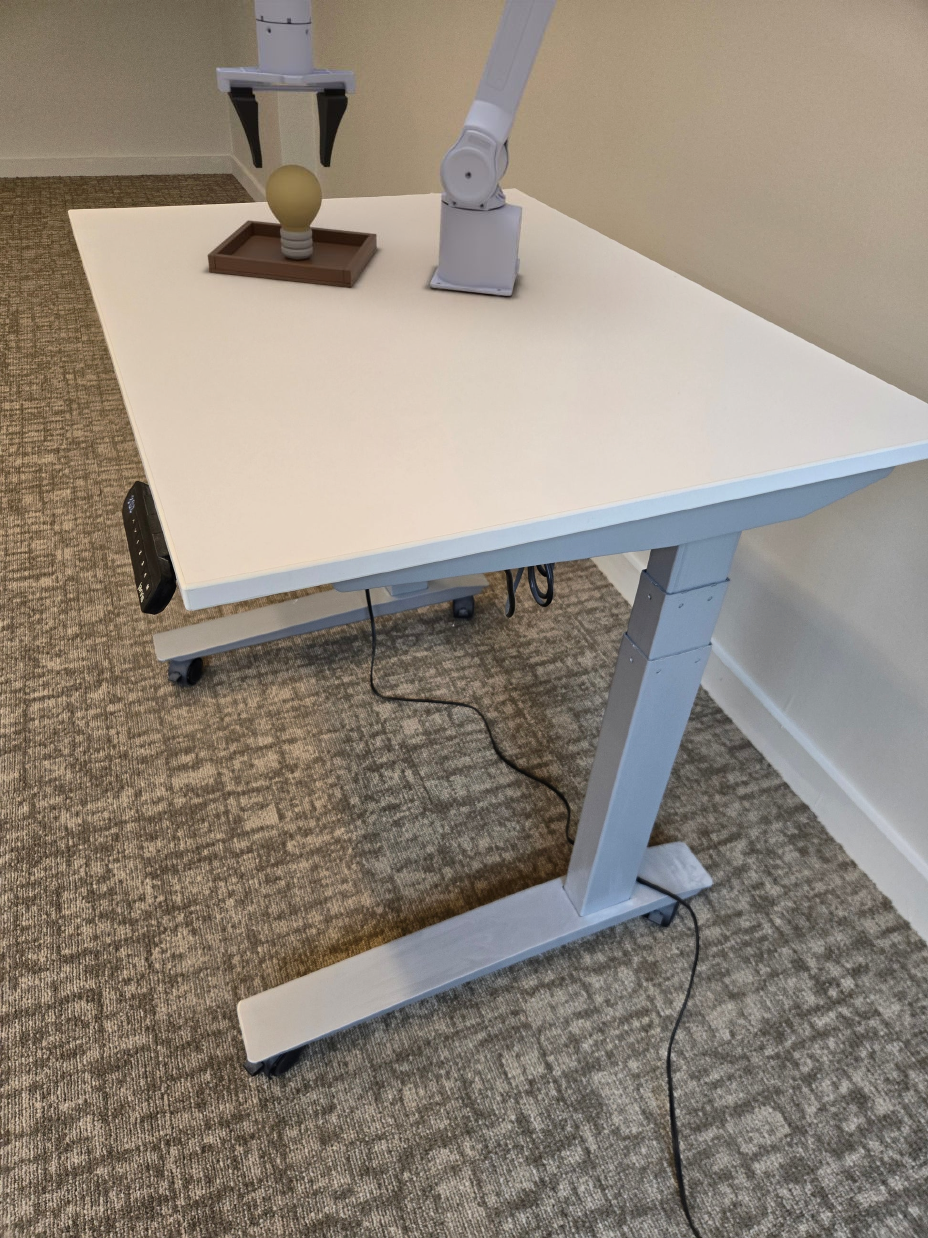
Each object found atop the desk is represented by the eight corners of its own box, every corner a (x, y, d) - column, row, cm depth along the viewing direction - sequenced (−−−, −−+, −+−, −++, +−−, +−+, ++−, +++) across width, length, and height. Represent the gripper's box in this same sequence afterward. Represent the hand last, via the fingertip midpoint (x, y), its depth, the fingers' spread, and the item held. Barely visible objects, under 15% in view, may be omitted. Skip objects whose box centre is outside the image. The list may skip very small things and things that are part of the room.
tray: (376, 249, 110) (376, 233, 109) (350, 287, 99) (350, 270, 98) (249, 235, 111) (247, 219, 110) (209, 271, 100) (207, 254, 99)
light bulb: (280, 245, 107) (274, 156, 101) (330, 251, 107) (327, 162, 101) (262, 261, 103) (255, 168, 96) (315, 267, 102) (311, 174, 96)
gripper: (217, 22, 85) (232, 175, 93) (362, 28, 89) (363, 173, 98) (208, 14, 90) (222, 159, 98) (345, 19, 94) (347, 158, 103)
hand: (291, 165), depth 98 cm, fingers open, 7 cm apart
